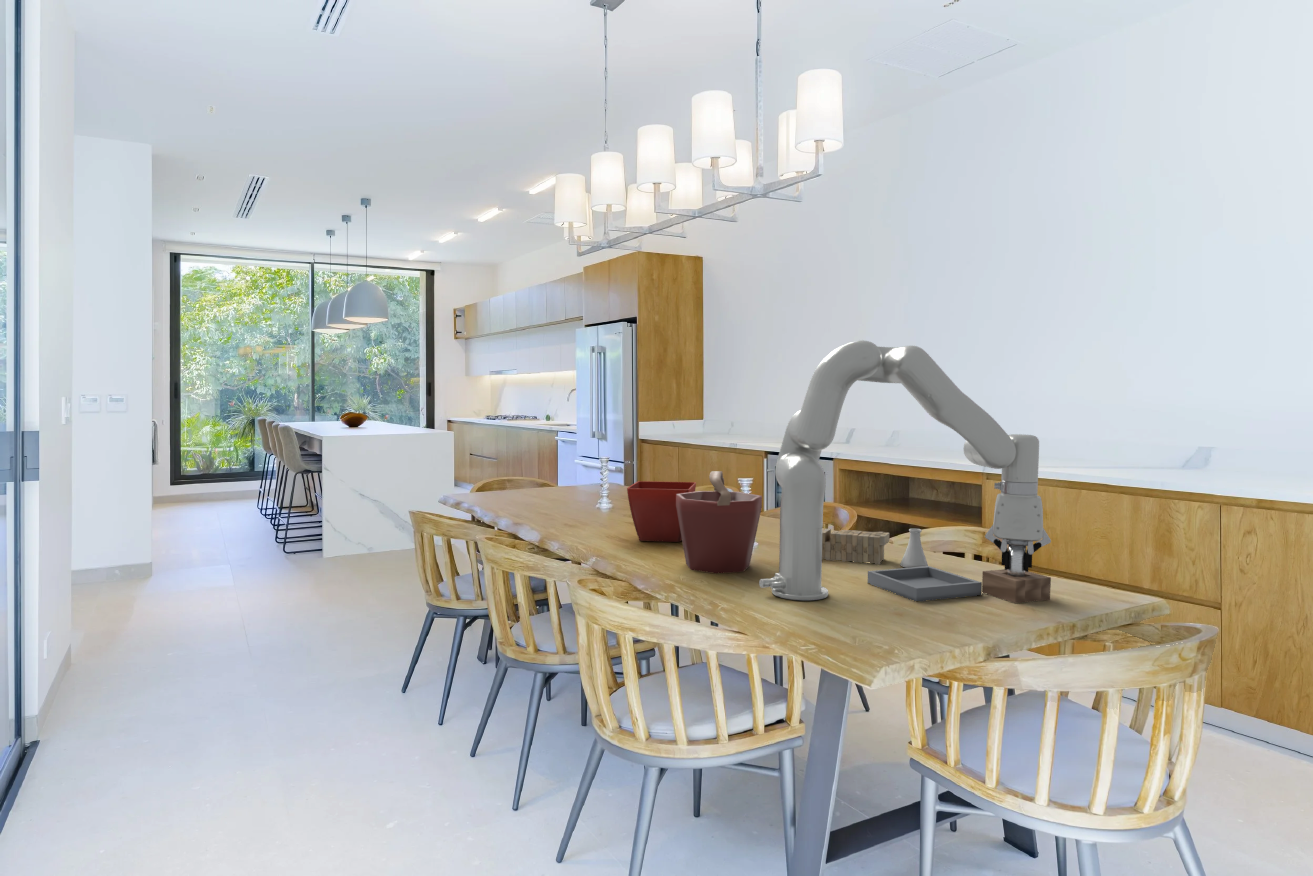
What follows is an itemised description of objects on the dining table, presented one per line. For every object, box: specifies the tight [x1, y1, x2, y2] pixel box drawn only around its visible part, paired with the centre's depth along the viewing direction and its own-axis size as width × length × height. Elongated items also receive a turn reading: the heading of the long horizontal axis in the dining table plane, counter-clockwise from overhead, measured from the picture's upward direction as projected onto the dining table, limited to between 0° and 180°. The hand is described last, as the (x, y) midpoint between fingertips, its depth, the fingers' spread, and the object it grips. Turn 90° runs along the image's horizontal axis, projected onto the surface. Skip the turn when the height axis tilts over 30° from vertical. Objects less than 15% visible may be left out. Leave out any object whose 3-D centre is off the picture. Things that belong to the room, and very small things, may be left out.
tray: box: [867, 565, 982, 602], centre depth 189 cm, size 18×18×3 cm
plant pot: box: [626, 480, 697, 543], centre depth 251 cm, size 19×19×17 cm
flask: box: [899, 528, 929, 568], centre depth 213 cm, size 7×7×10 cm
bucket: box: [676, 470, 763, 575], centre depth 211 cm, size 24×22×25 cm
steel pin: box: [1007, 540, 1028, 577], centre depth 183 cm, size 5×5×13 cm
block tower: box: [822, 528, 890, 565], centre depth 224 cm, size 8×8×29 cm
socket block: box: [981, 568, 1052, 604], centre depth 183 cm, size 10×10×5 cm
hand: (1016, 568), depth 183 cm, fingers closed on steel pin, 3 cm apart
